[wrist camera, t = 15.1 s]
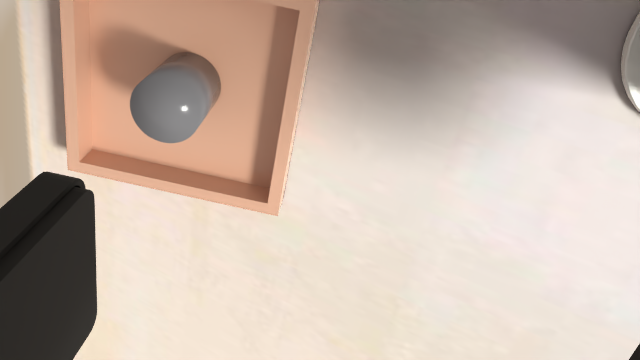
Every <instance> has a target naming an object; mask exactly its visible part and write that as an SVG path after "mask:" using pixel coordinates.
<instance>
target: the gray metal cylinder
mask: <svg viewBox="0 0 640 360" xmlns="http://www.w3.org/2000/svg"><path fill="white" fill-rule="evenodd" d="M220 92H221V81H220V77H219V74H218V72H217V70H216V69H215V67H214V66H213V65H212V64H211V63H210V62H209V61H208V60H207V59H206V58H204V57H202V56H200V55H198V54H195V53H191V52H181V53H177V54H174V55H172V56H170V57H169V58H168V59H166V60H165V61H164V62H163V63H162V64H161V65H159V66H158V67H157V68H156V69H155V70H154V71H152V72H151V73H150V74H149V75H148V76H147V77H145V78H144V79H143V80H142V81H141V82H140V83H139V84H138V85H137V86H136V87H135V88H134V90H133V92H132V94H131V98H130V111H131V114H132V117H133V119H134V121H135V123H136V124H137V126H138V127H139V128H140V130H141V131H143V132H144V133H145V134H146V135H147V136H149V137H151V138H152V139H154V140H157V141H160V142H163V143H178V142H182V141H184V140H186V139H188V138H189V137H191V136H192V135H193V134H194V133H195V131H196V130H197V129H198V127H199V126H200V124H201V123H202V122H203V120H204V119H205V117H206V116H207V115H208V113H209V112H210V110H211V109H212V108H213V106H214V105H215V103H216V102H217V100H218V98H219V96H220Z"/></svg>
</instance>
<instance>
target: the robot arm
mask: <svg viewBox="0 0 640 360" xmlns="http://www.w3.org/2000/svg"><path fill="white" fill-rule="evenodd" d="M621 74H622V82H623V85H624V88H625V91H626V94H627V96H628V97H629V99H630V100H631V102H632V104H633V105H634V107H635V108H636V109H637V110H638V111H639V112H640V13H639V14H638V15H637V17H636V19H635V21H634V22H633V24H632V26H631V28H630V30H629V32H628V34H627V38H626V41H625V44H624V47H623V51H622V59H621ZM96 315H97V287H96V246H95V204H94V194H93V192H92V191H91V190H87V189H85V184H84V182H83V181H82V180H81V179H79V178H74V177H69V176H65V175H60V174H56V173H51V172H43V173H41V174H40V175H38V176H37V177H36V178H35V179H34V180H32V181H31V182H30V183H29V184H28V185H27V186H26V187H25V188H23V189H22V190H21V191H20V192H19V193H17V194H16V195H15V196H14V197H13V198H12V199H11V200H9V201H8V202H7V203H6V204H5V205H4V206H3V207H1V208H0V360H73V358H74V357H75V355H76V354H77V352H78V351H79V349H80V348H81V346H82V345H83V343H84V342H85V340H86V338H87V337H88V335H89V334H90V332H91V330H92V328H93V326H94V323H95V320H96ZM629 360H640V344H639V345H638V347H637V348H636V350H635V351H634V353H633V354H632V356H631V357H630V359H629Z"/></svg>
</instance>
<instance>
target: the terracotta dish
mask: <svg viewBox="0 0 640 360" xmlns="http://www.w3.org/2000/svg"><path fill="white" fill-rule="evenodd" d="M59 1H60V21H61V42H62V62H63V83H64V103H65V124H66V144H67V164H68V170H71V171H75V172H80V173H84V174H89V175H93V176H98V177H103V178H107V179H112V180H116V181H121V182H125V183H130V184H134V185H139V186H143V187H148V188H152V189H157V190H162V191H166V192H171V193H175V194H180V195H184V196H189V197H193V198H198V199H202V200H207V201H211V202H216V203H220V204H225V205H230V206H234V207H239V208H243V209H248V210H252V211H257V212H261V213H266V214H270V215H275V216H278V213H279V210H280V207H281V204H282V201H283V198H284V192H285V187H286V181H287V176H288V170H289V165H290V160H291V154H292V149H293V143H294V138H295V132H296V127H297V121H298V116H299V111H300V105H301V100H302V94H303V89H304V83H305V78H306V72H307V67H308V62H309V56H310V51H311V45H312V40H313V34H314V29H315V23H316V18H317V13H318V7H319V2H320V0H59ZM181 52H191V53H195V54H198V55H200V56H202V57H204V58H206V59H207V60H208V61H209V62H210V63H211V64H212V65H213V66H214V67H215V69H216V70H217V72H218V74H219V77H220V81H221V92H220V96H219V98H218V100H217V102H216V103H215V105H214V106H213V108H212V109H211V110H210V112H209V113H208V115H207V116H206V117H205V119H204V120H203V122H202V123H201V124H200V126H199V127H198V129H197V130H196V131H195V133H194V134H193V135H192V136H191V137H189V138H188V139H186V140H184V141H182V142H178V143H163V142H160V141H157V140H154V139H152V138H151V137H149V136H147V135H146V134H145V133H144V132H143V131H141V130H140V128H139V127H138V126H137V124H136V123H135V121H134V119H133V117H132V114H131V111H130V98H131V94H132V92H133V90H134V88H135V87H136V86H137V85H138V84H139V83H140V82H141V81H142V80H143V79H144V78H145V77H147V76H148V75H149V74H150V73H151V72H152V71H154V70H155V69H156V68H157V67H158V66H159V65H161V64H162V63H163V62H164V61H165V60H166V59H168V58H169V57H170V56H172V55H174V54H177V53H181Z"/></svg>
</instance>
